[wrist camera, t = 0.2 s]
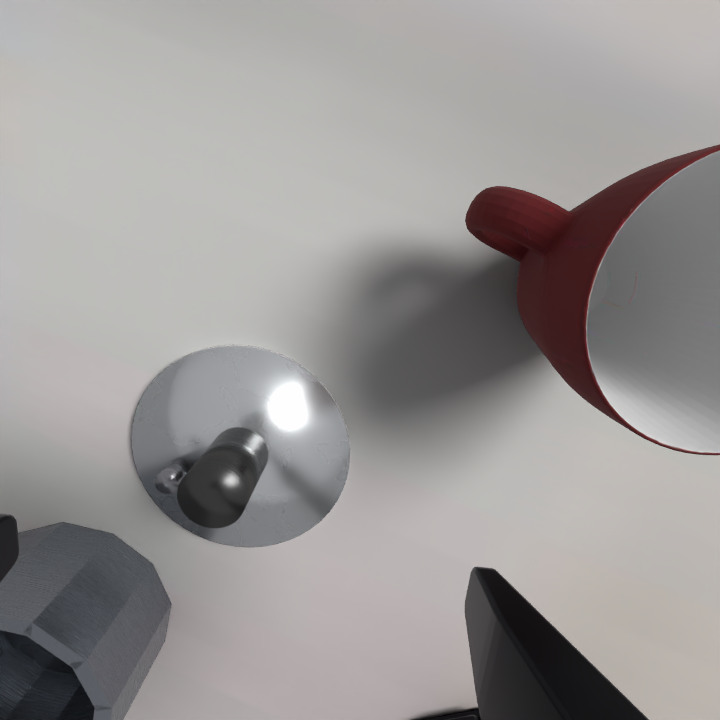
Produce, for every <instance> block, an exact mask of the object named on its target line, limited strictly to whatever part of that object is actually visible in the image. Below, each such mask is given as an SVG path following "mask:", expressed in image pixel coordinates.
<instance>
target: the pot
mask: <svg viewBox="0 0 720 720" xmlns="http://www.w3.org/2000/svg"><path fill="white" fill-rule="evenodd" d="M18 540H19V556H18V559H17V561H16V563H15V564H14V566H13V567H12V569H11V570H10V571H9V572H8V574H7V575H6V576H5V578H4V579H3V580H2V581H1V583H0V720H123V719H124V717H125V715H126V713H127V712H128V710H129V708H130V706H131V704H132V702H133V700H134V698H135V696H136V695H137V693H138V691H139V689H140V687H141V685H142V683H143V681H144V679H145V677H146V676H147V674H148V672H149V670H150V668H151V666H152V664H153V662H154V660H155V659H156V657H157V655H158V653H159V651H160V649H161V647H162V645H163V643H164V642H165V637H166V631H167V626H168V620H169V614H170V608H171V602H170V600H169V598H168V596H167V594H166V591H165V589H164V587H163V585H162V583H161V581H160V579H159V576H158V574H157V572H156V570H155V568H154V566H153V564H152V563H150V562H149V561H148V560H147V559H145V558H144V557H143V556H141V555H140V554H139V553H137V552H136V551H135V550H133V549H132V548H131V547H130V546H128V545H127V544H126V543H124V542H123V541H122V540H120V539H119V538H118V537H116V536H115V535H114V534H111V533H107V532H103V531H98V530H94V529H90V528H85V527H81V526H77V525H73V524H68V523H64V522H62V523H58V524H54V525H50V526H46V527H42V528H38V529H34V530H29V531H25V532H21V533H18Z"/></svg>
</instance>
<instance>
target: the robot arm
mask: <svg viewBox="0 0 720 720" xmlns="http://www.w3.org/2000/svg"><path fill="white" fill-rule="evenodd" d="M18 556H19V540H18V531H17V522H16V519H15V518H14V517H13V516H11V515H7V514H0V583H1V581H2V580H3V579H4V578H5V576H6V575H7V574H8V572H9V571H10V570H11V569H12V567H13V566H14V564H15V563H16V561H17V559H18ZM465 618H466V625H467V632H468V639H469V647H470V654H471V661H472V668H473V676H474V683H475V690H476V696H477V703H478V707H479V710H475V711H470V712H464V713H459V714H454V715H448V716H443V717H437V718H432V719H426V720H649V719H648V718H647V717H646V716H645V715H644V714H643V713H642V712H641V711H640V710H638V709H637V708H636V707H635V706H634V705H633V704H632V703H631V702H630V701H629V700H628V699H627V698H626V697H625V696H624V695H623V694H622V693H621V692H620V691H619V690H618V689H617V688H616V687H615V686H614V685H613V684H612V683H611V682H610V681H609V680H608V679H607V678H606V677H605V676H604V675H603V674H602V673H601V672H600V671H599V670H598V669H597V668H596V667H595V666H593V665H592V664H591V663H590V662H589V661H588V660H587V659H586V658H585V657H584V656H583V655H582V654H581V653H580V652H579V651H578V650H577V649H576V648H575V647H574V646H573V645H572V644H571V643H570V642H569V641H568V640H567V639H566V638H565V637H564V636H563V635H562V634H561V633H560V632H559V631H558V630H557V629H556V628H555V627H554V626H553V625H552V624H551V623H550V622H548V621H547V620H546V619H545V618H544V617H543V616H542V615H541V614H540V613H539V612H538V611H537V610H536V609H535V608H534V607H533V606H532V605H531V604H530V603H529V602H528V601H527V600H526V599H525V598H524V597H523V596H522V595H521V594H520V593H519V592H518V591H517V590H516V589H515V588H514V587H513V586H512V585H511V584H510V583H509V582H508V581H507V580H506V579H505V578H504V577H502V576H501V575H500V574H499V573H498V572H497V571H496V570H495V569H492V568H484V567H474V568H473V569H472V571H471V575H470V580H469V585H468V590H467V595H466V600H465Z"/></svg>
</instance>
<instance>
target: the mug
mask: <svg viewBox="0 0 720 720" xmlns="http://www.w3.org/2000/svg"><path fill="white" fill-rule="evenodd" d="M465 222H466V226H467V229H468V230H469V232H471V233H472V234H473V235H474V236H475V237H476V238H477V239H479V240H480V241H481V242H483V243H485V244H486V245H488V246H490V247H492V248H494V249H496V250H498V251H500V252H502V253H504V254H506V255H508V256H510V257H512V258H514V259H516V260H518V261H519V262H520V266H519V273H518V280H517V303H518V309H519V313H520V316H521V319H522V321H523V324H524V326H525V328H526V329H527V331H528V333H529V334H530V336H531V337H532V339H533V340H534V341H535V343H536V344H537V345H538V347H539V348H540V349H541V351H542V352H543V354H544V355H545V356H546V358H547V359H548V360H549V362H550V363H551V364H552V366H553V367H554V368H555V369H556V371H557V372H558V373H559V374H560V376H561V377H562V378H563V379H564V380H565V381H566V383H567V384H568V385H569V386H570V387H571V388H572V389H574V390H575V391H576V392H577V393H578V394H579V395H580V396H581V397H582V398H584V399H585V400H586V401H587V402H589V403H590V404H591V405H593V406H594V407H595V408H597V409H598V410H600V411H601V412H603V413H604V414H606V415H607V416H609V417H610V418H612V419H613V420H615V421H616V422H618V423H620V424H621V425H623V426H624V427H626V428H628V429H629V430H631V431H632V432H634V433H636V434H637V435H639V436H641V437H642V438H644V439H647V440H649V441H651V442H653V443H655V444H658V445H660V446H663V447H666V448H669V449H672V450H676V451H680V452H685V453H691V454H699V455H720V145H716V146H712V147H709V148H705V149H701V150H698V151H694V152H691V153H687V154H684V155H681V156H677V157H674V158H671V159H667V160H665V161H662V162H659V163H657V164H654V165H652V166H649V167H647V168H644V169H641V170H639V171H637V172H635V173H633V174H631V175H629V176H627V177H625V178H623V179H621V180H619V181H618V182H616V183H614V184H612V185H611V186H609V187H607V188H606V189H604V190H602V191H601V192H599V193H598V194H596V195H594V196H593V197H591V198H590V199H588V200H587V201H585V202H583V203H582V204H580V205H579V206H577V207H576V208H574V209H572V210H571V211H567V210H565V209H563V208H562V207H560V206H558V205H556V204H554V203H552V202H550V201H548V200H546V199H544V198H542V197H540V196H537V195H535V194H532V193H529V192H526V191H523V190H519V189H515V188H510V187H503V186H495V187H490V188H487V189H485V190H483V191H481V192H480V193H479V194H478V195H477V196H476V197H475V198H474V200H473V201H472V203H471V205H470V207H469V209H468V211H467V214H466V219H465Z"/></svg>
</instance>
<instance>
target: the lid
mask: <svg viewBox="0 0 720 720" xmlns="http://www.w3.org/2000/svg"><path fill="white" fill-rule="evenodd" d="M131 441H132V452H133V457H134V461H135V466H136V469H137V471H138V474H139V477H140V479H141V481H142V483H143V485H144V487H145V488H146V490H147V492H148V493H149V495H150V496H151V497H152V499H153V500H154V502H155V503H156V504H157V505H158V506H159V507H160V508H161V510H162V511H163V512H164V513H166V514H167V515H168V516H169V517H170V518H171V519H172V520H173V521H175V522H176V523H178V524H179V525H180V526H182V527H183V528H185V529H187V530H188V531H190V532H192V533H194V534H196V535H198V536H200V537H203V538H205V539H207V540H210V541H214V542H217V543H220V544H225V545H231V546H238V547H262V546H268V545H274V544H278V543H281V542H285V541H288V540H290V539H293V538H295V537H297V536H300V535H301V534H303V533H305V532H306V531H308V530H310V529H311V528H312V527H314V526H315V525H316V524H317V523H319V522H320V521H321V520H322V519H323V518H324V517H325V516H326V515H327V514H328V513H329V512H330V510H331V509H332V507H333V506H334V505H335V503H336V502H337V500H338V498H339V496H340V494H341V492H342V490H343V487H344V485H345V482H346V479H347V474H348V469H349V459H350V444H349V435H348V431H347V427H346V423H345V420H344V418H343V415H342V412H341V410H340V408H339V407H338V405H337V403H336V401H335V399H334V398H333V396H332V395H331V394H330V392H329V391H328V390H327V388H326V387H325V386H324V385H323V384H322V383H321V382H320V381H319V380H318V379H317V377H316V376H314V375H313V374H312V373H311V372H309V371H308V370H307V369H306V368H304V367H303V366H301V365H300V364H298V363H297V362H295V361H293V360H292V359H290V358H288V357H285V356H283V355H281V354H279V353H276V352H273V351H270V350H267V349H264V348H259V347H253V346H247V345H223V346H215V347H210V348H206V349H202V350H200V351H197V352H194V353H191V354H189V355H187V356H185V357H183V358H181V359H180V360H178V361H176V362H174V363H173V364H172V365H170V366H169V367H167V368H166V369H165V370H163V371H162V372H161V373H160V374H159V375H158V376H157V377H156V378H155V379H154V380H153V381H152V383H151V384H150V385H149V387H148V388H147V389H146V391H145V392H144V394H143V396H142V398H141V400H140V402H139V404H138V407H137V410H136V412H135V416H134V421H133V426H132V440H131Z"/></svg>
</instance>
